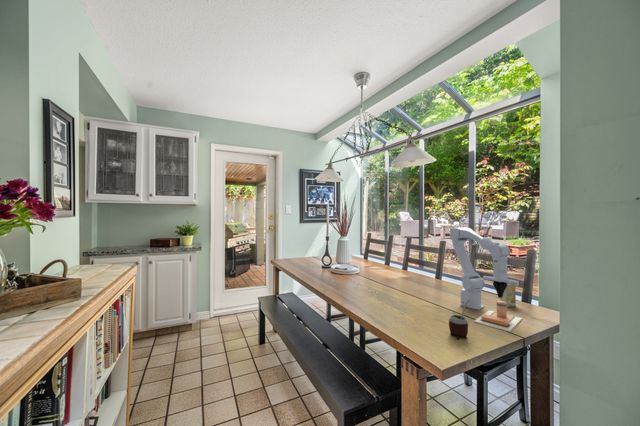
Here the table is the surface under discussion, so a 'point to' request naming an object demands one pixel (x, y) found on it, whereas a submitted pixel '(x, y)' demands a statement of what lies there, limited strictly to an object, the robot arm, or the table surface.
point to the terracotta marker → (501, 309)
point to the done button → (495, 320)
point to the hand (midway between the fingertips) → (500, 297)
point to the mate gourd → (458, 325)
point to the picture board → (512, 324)
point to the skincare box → (509, 295)
